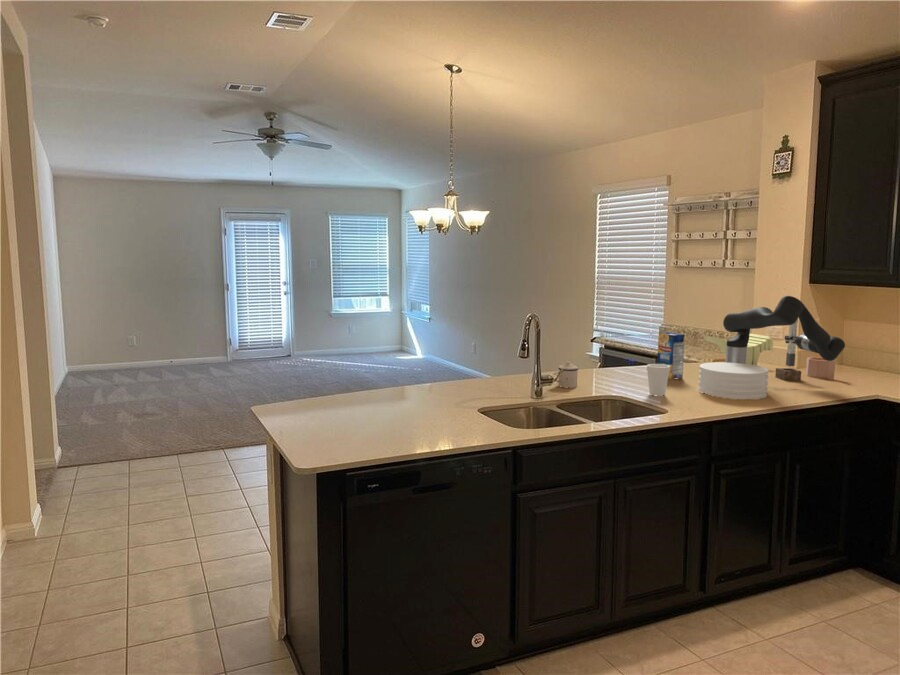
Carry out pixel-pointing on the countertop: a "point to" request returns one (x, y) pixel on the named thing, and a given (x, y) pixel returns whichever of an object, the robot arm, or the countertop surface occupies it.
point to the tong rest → (788, 374)
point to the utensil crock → (820, 368)
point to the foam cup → (658, 378)
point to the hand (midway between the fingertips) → (788, 337)
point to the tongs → (791, 345)
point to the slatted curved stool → (753, 348)
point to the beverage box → (671, 352)
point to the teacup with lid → (567, 375)
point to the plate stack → (733, 380)
